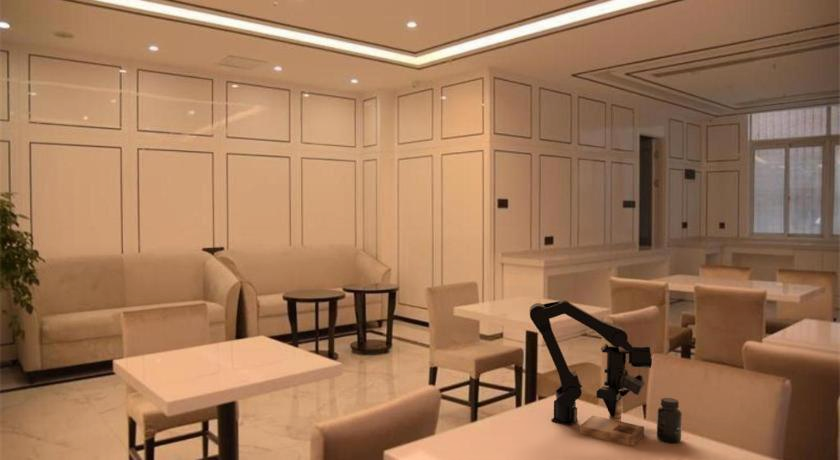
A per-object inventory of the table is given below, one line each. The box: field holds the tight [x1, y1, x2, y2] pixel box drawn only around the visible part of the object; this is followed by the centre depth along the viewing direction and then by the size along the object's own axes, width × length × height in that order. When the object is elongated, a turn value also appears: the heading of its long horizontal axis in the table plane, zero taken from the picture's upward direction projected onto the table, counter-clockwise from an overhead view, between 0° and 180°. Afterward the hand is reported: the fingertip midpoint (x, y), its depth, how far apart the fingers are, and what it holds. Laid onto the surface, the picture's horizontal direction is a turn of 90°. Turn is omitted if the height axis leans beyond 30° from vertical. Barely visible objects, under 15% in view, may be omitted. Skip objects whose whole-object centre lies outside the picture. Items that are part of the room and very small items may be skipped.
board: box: [579, 415, 645, 447], centre depth 181 cm, size 16×11×2 cm
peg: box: [607, 395, 624, 422], centre depth 189 cm, size 4×4×9 cm
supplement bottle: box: [656, 397, 683, 445], centre depth 177 cm, size 7×7×12 cm
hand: (615, 414), depth 189 cm, fingers closed on peg, 4 cm apart
